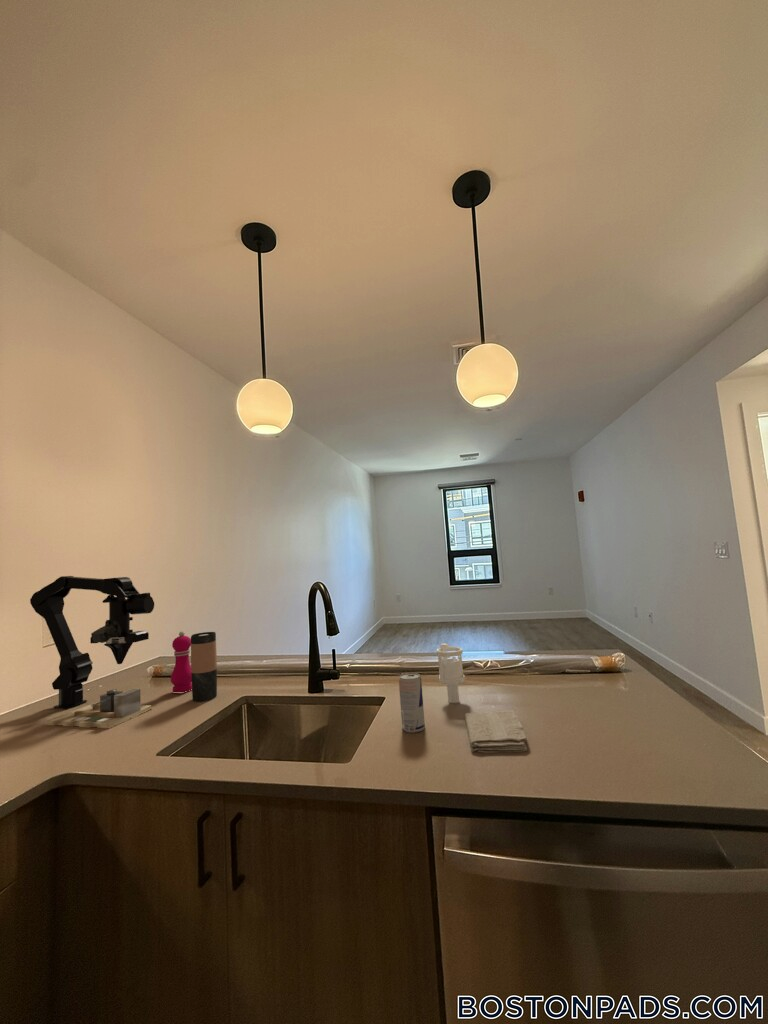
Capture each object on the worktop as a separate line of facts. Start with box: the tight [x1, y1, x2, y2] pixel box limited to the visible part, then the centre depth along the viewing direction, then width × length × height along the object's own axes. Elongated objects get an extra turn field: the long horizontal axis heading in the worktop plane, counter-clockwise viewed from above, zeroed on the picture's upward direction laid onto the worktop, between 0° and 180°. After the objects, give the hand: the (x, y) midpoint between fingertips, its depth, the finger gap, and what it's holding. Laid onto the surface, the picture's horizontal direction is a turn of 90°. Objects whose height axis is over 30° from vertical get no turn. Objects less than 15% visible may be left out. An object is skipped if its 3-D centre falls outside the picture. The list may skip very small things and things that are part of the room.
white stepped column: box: [436, 643, 466, 704], centre depth 116 cm, size 7×7×15 cm
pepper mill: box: [170, 630, 192, 693], centre depth 145 cm, size 7×7×20 cm
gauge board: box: [46, 688, 153, 729], centre depth 123 cm, size 23×14×7 cm, turn 73°
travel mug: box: [190, 631, 218, 703], centre depth 135 cm, size 8×8×20 cm
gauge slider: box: [91, 688, 124, 712], centre depth 120 cm, size 4×8×6 cm, turn 163°
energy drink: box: [398, 672, 426, 734], centre depth 100 cm, size 5×5×12 cm
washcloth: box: [464, 709, 528, 754], centre depth 93 cm, size 12×18×3 cm, turn 175°
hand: (119, 664), depth 138 cm, fingers closed
